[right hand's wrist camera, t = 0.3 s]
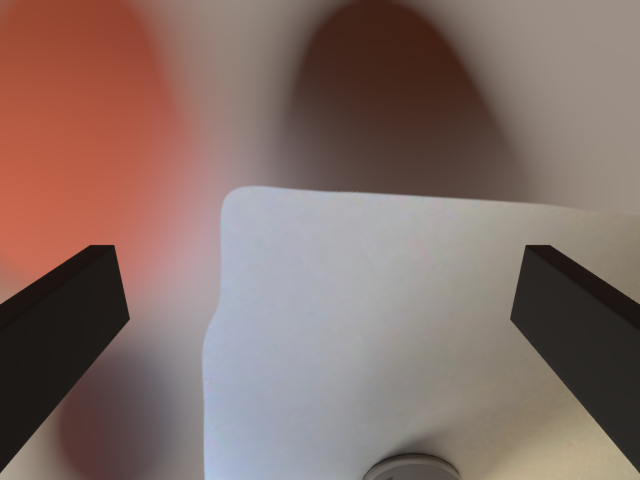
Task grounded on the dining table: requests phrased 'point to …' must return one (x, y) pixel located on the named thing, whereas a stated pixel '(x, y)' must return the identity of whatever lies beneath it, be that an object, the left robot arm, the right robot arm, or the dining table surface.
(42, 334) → the right robot arm
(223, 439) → the dining table surface
